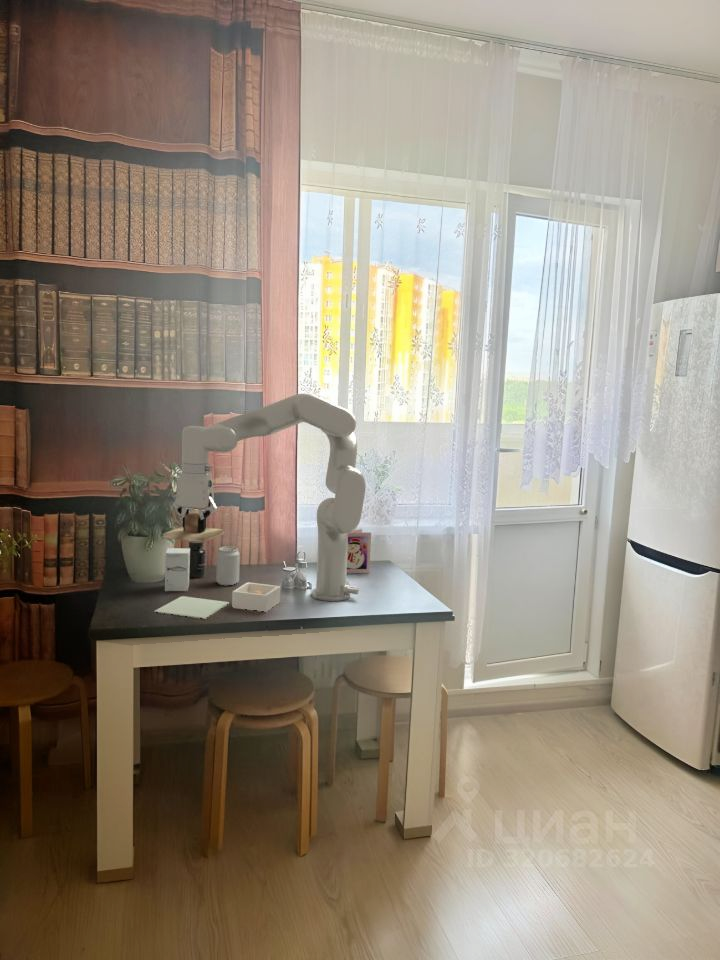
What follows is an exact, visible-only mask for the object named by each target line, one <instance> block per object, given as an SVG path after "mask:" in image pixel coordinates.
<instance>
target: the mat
mask: <svg viewBox="0 0 720 960" xmlns="http://www.w3.org/2000/svg"><path fill="white" fill-rule="evenodd" d="M227 604H228V605H229V604H230V602H229V601H223V600H214V599H208V598H199V597H198V598H197V597H192V596H186V595H185V596H184V595H182V596H179V597H178V598H176V599H174V600H172V601H170V602H168V603H166V604H164V605H163V606H161V607H160V608H159V607H158V608H157V609H154V613H156V612H158V614H164V613H165V614H164V615H171V614H173V615H172V616H178V615H179V616H180V617H185V616H187V618H194V619H200V618H202V619H203V620H206V619H208V618H209V617H210V615H211V616H212V615H214V614H216V613H217V612H218V611H220V610H222V609H223V608H225V607H226V606H228V605H227ZM221 608H222V609H221ZM179 616H178V617H179ZM207 617H208V618H207ZM202 619H201V620H202Z"/></svg>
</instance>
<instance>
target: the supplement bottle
mask: <svg viewBox="0 0 720 960" xmlns="http://www.w3.org/2000/svg"><path fill="white" fill-rule="evenodd" d="M187 547H188V548H190V569H189V579H191V578H192V579H199V578H204V577H206V561H207V560H206V558H207V551H206V550H205V548H204V542H198V541H189V540H188V546H187Z"/></svg>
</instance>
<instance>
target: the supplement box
mask: <svg viewBox="0 0 720 960" xmlns="http://www.w3.org/2000/svg"><path fill="white" fill-rule="evenodd" d="M165 551H166V552H165V561H164V563H165V566H164V567H165V570H164V592H189V586H190V578H189V569H190V548H189V547H188V548H187V547H185V548H181V547H180V548H179V547H178V548H177V547H172V548H171V547H167V548H166V550H165Z"/></svg>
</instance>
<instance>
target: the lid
mask: <svg viewBox="0 0 720 960" xmlns="http://www.w3.org/2000/svg"><path fill="white" fill-rule="evenodd" d="M199 519H200V515H199V513H196V512H191V513H189V514H187V515H185V531H183V525H182V526H181V527H177V528H173V529H172V530H169V531H166V532H164V533H162V538H164V539H171V540H178V541H179V540H180V541H181V540H182V541H188V542H189V541H198V542H203V543H206V542H208V541H210V540H213V539H215V538H217V537H220V536H221V535H222V536H223V535H224V534H225V529H221V528H213V527H211V528H210V527H206V529H205V531H204V532H202V533H198V520H199Z"/></svg>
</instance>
